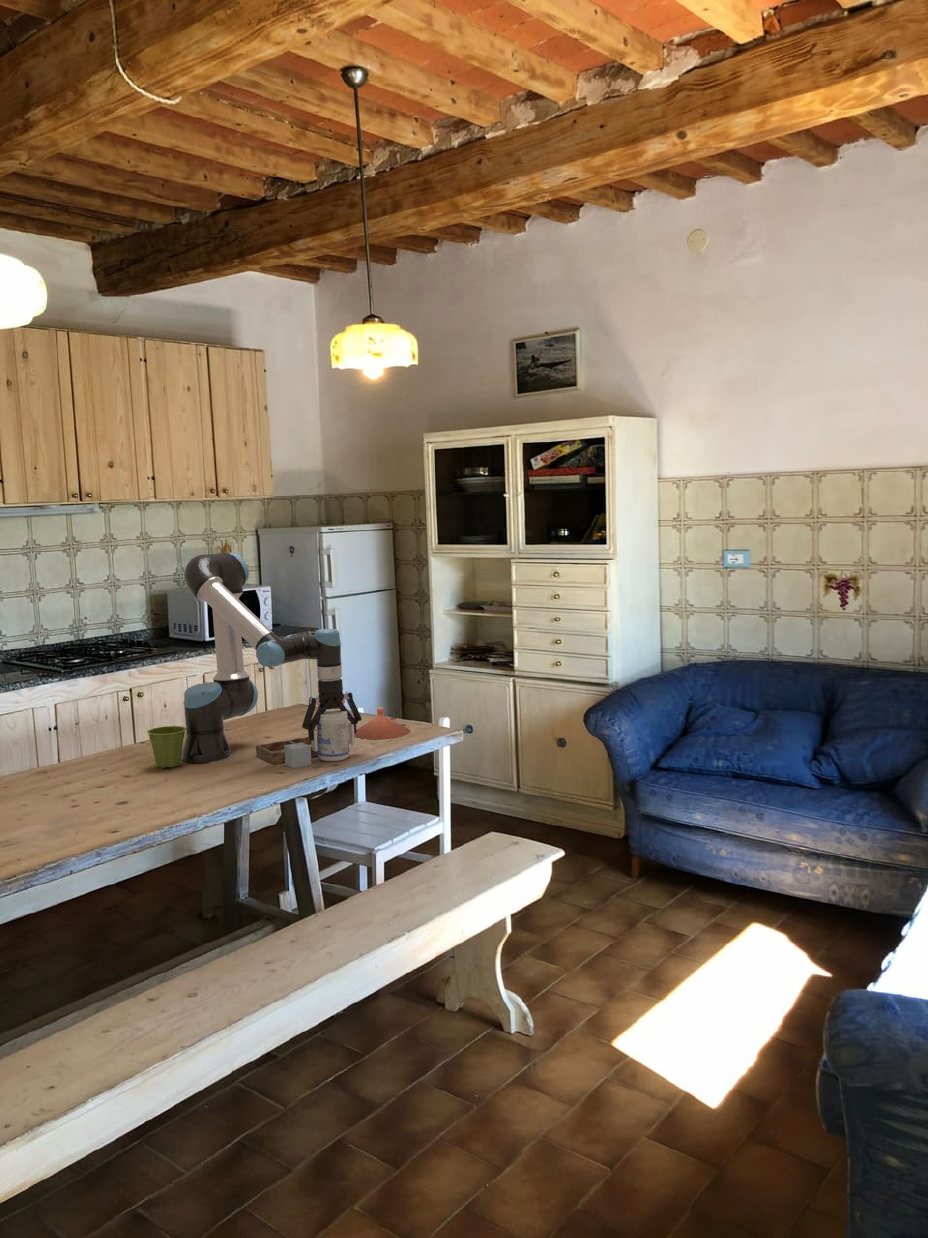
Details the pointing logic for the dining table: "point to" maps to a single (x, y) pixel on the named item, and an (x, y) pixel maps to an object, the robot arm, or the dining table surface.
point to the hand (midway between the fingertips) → (333, 747)
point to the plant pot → (167, 745)
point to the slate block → (297, 755)
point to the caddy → (281, 749)
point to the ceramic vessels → (379, 727)
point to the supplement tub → (333, 735)
